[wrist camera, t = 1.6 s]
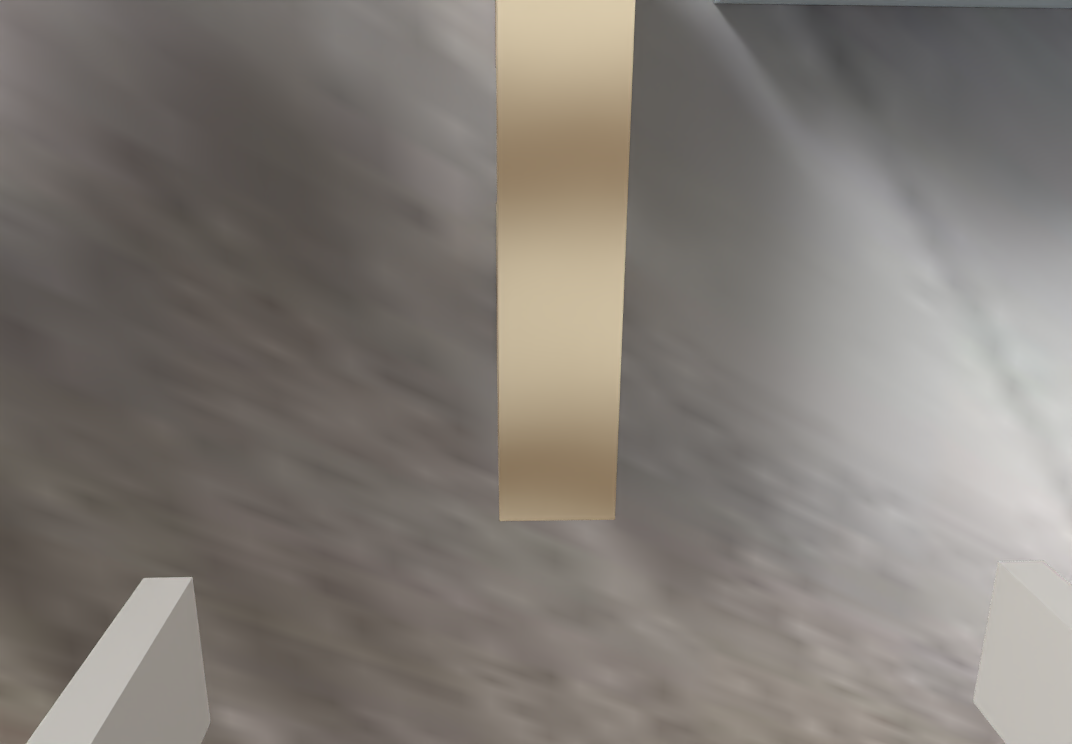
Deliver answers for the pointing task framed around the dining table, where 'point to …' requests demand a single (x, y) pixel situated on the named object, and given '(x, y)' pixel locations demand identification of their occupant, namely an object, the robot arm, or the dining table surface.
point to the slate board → (919, 3)
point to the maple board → (561, 252)
